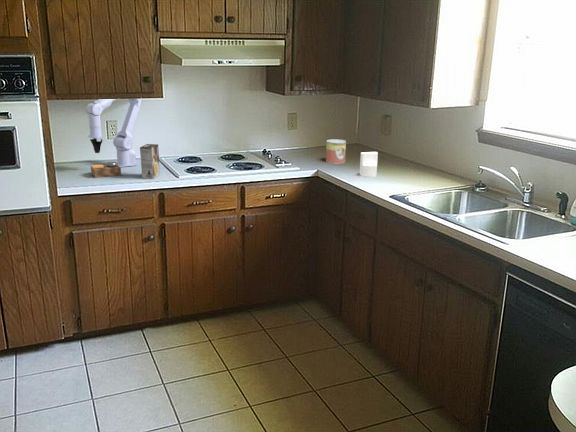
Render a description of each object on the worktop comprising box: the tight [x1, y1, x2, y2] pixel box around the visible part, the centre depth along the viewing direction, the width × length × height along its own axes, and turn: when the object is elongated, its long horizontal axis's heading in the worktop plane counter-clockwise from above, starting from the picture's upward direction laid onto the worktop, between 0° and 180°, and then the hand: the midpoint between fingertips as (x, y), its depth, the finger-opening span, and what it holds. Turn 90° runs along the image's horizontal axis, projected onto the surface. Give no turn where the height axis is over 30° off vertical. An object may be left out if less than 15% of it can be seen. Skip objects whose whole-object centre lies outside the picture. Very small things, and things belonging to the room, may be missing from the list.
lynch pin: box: [106, 160, 117, 167], centre depth 307 cm, size 5×5×6 cm
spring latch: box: [90, 164, 104, 169], centre depth 303 cm, size 5×4×1 cm
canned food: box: [325, 138, 347, 165], centre depth 343 cm, size 11×11×12 cm
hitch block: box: [90, 164, 122, 179], centre depth 306 cm, size 13×10×4 cm
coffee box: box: [139, 143, 161, 180], centre depth 301 cm, size 9×6×16 cm
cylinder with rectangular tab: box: [359, 151, 379, 178], centre depth 313 cm, size 9×9×12 cm
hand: (97, 152), depth 312 cm, fingers closed
